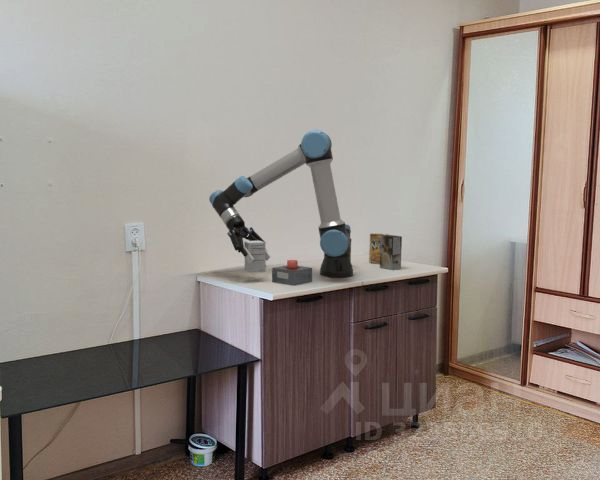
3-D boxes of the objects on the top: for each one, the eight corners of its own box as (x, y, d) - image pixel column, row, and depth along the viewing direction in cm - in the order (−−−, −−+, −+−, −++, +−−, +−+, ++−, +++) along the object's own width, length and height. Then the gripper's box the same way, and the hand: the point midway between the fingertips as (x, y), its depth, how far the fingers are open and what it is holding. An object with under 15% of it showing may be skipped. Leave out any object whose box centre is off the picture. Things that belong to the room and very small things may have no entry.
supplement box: (244, 270, 262) (243, 240, 260) (260, 269, 264) (260, 240, 263) (249, 272, 255) (248, 242, 253) (266, 271, 257) (265, 241, 256)
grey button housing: (290, 278, 267) (290, 264, 266) (312, 281, 260) (312, 267, 259) (271, 281, 258) (271, 267, 257) (293, 285, 250) (293, 271, 250)
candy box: (368, 263, 316) (369, 233, 314) (371, 262, 320) (372, 232, 318) (385, 264, 312) (385, 234, 310) (387, 263, 316) (388, 233, 314)
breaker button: (291, 271, 261) (291, 259, 261) (299, 272, 259) (299, 260, 258) (284, 272, 258) (285, 260, 257) (292, 273, 255) (293, 261, 255)
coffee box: (401, 269, 298) (402, 236, 296) (392, 270, 294) (393, 236, 293) (388, 266, 305) (389, 234, 304) (378, 267, 302) (379, 235, 300)
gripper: (246, 224, 276) (273, 262, 268) (209, 228, 258) (237, 268, 250) (255, 213, 272) (282, 251, 264) (218, 216, 255) (246, 257, 246)
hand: (260, 260), depth 257 cm, fingers closed on supplement box, 10 cm apart
